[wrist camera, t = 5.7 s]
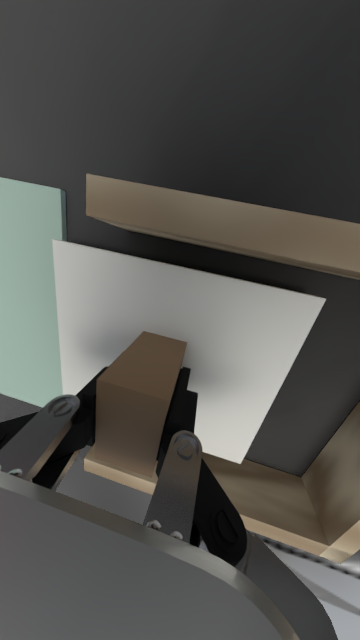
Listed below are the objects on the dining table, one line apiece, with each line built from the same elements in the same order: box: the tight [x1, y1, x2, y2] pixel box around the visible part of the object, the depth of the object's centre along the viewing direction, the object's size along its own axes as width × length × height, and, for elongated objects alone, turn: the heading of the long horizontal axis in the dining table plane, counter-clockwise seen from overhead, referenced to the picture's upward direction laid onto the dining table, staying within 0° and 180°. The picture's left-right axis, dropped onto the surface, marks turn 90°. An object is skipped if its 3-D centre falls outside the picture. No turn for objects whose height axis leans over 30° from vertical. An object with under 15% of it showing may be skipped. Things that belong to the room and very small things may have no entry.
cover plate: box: [52, 239, 326, 478], centre depth 10 cm, size 14×16×6 cm
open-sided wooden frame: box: [84, 174, 360, 564], centre depth 11 cm, size 20×20×4 cm
